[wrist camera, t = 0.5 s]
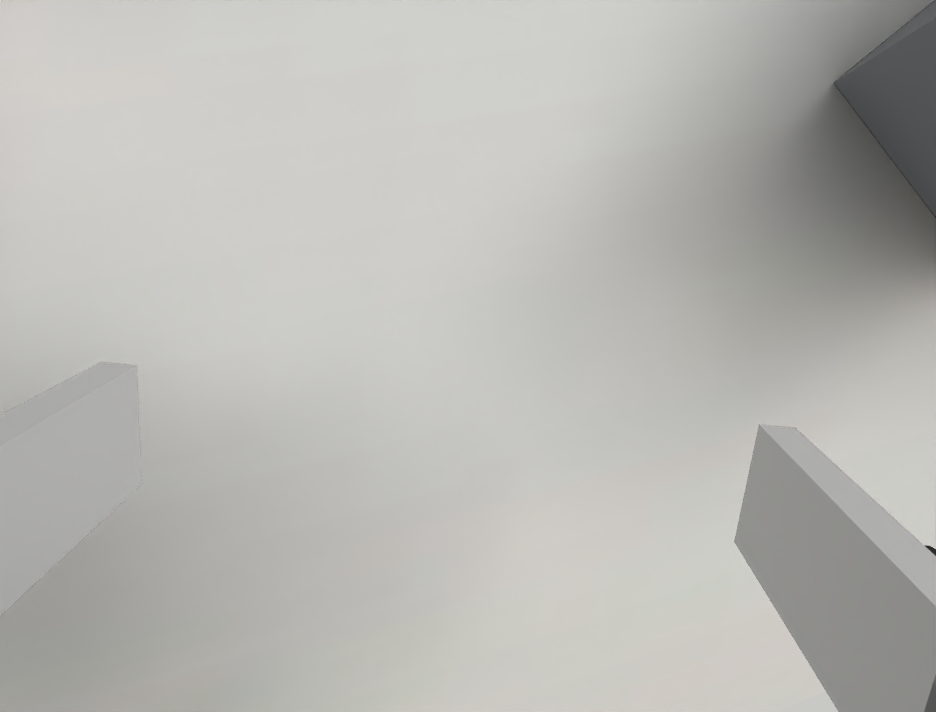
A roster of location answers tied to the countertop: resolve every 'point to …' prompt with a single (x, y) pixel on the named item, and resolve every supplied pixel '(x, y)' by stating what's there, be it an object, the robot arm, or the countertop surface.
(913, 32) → the block
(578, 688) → the countertop surface
